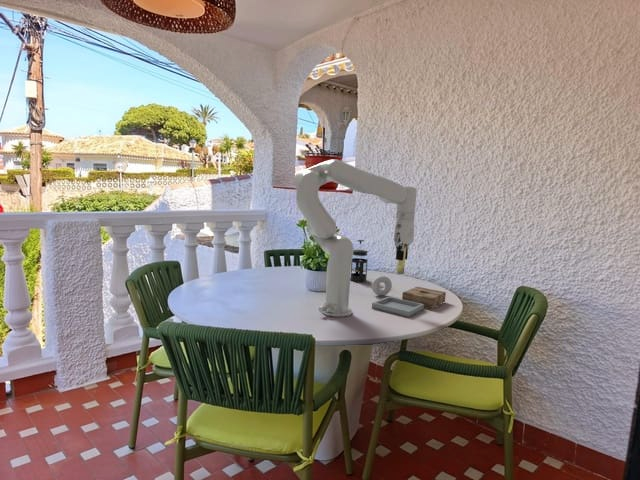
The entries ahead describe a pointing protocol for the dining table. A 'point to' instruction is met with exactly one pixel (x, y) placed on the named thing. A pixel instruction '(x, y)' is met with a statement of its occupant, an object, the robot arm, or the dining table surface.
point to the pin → (401, 263)
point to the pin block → (425, 296)
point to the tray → (398, 306)
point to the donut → (377, 281)
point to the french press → (359, 276)
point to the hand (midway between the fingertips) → (401, 259)
